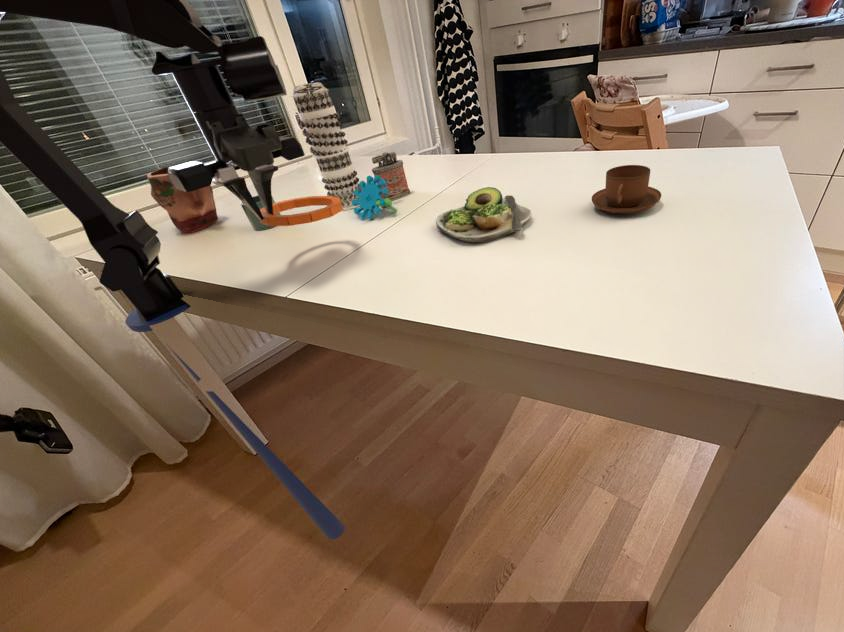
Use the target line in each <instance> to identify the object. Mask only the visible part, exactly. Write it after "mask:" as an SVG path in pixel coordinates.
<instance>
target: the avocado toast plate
mask: <svg viewBox="0 0 844 632" xmlns="http://www.w3.org/2000/svg"><path fill="white" fill-rule="evenodd" d="M531 216H532V210H531V209H529V208H527V207H525V206H522V205H520V204H518V203H516V199H515V197H514V196H513V195H505V196H504V197H503V195H502V192H501V191H500V190H499V189H498V188H496V187H492V186H488V187H482V188H479V189H477V190H475V191H473V192H471V193H470V194H468V196H467V198H466V199H465V203H464V206H460V207H457V208H454V209H450V210H447V211H445V212H442V213H440V214H439V215H438V216H437V218H435V224H436V227H437V229H438V230H439V231H441V232H442V233H445V234H447V235H448V236H450V237H453V238H454V239H457V240H461V241H463V242H467V243H485V242H491V241H494V240H498V239H500V238H502V237H505V236H508V235H510V234H514V233H515V232H520V231H522V230H523V225H524V224H526V223H527V222H528V221H529V220H530V218H531Z"/></svg>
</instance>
